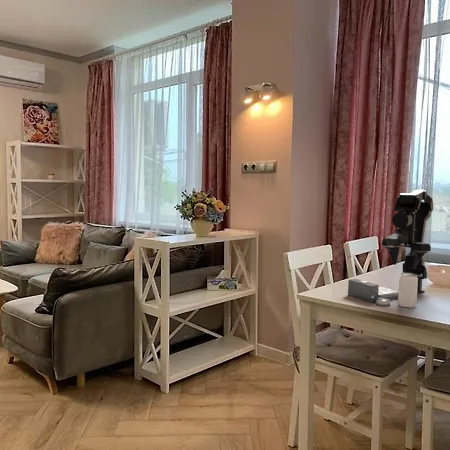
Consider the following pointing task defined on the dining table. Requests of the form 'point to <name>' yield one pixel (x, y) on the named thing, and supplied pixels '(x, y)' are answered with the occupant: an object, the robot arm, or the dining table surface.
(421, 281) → the robot arm
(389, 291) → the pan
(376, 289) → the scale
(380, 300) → the spacer
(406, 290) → the can
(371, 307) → the dining table surface
